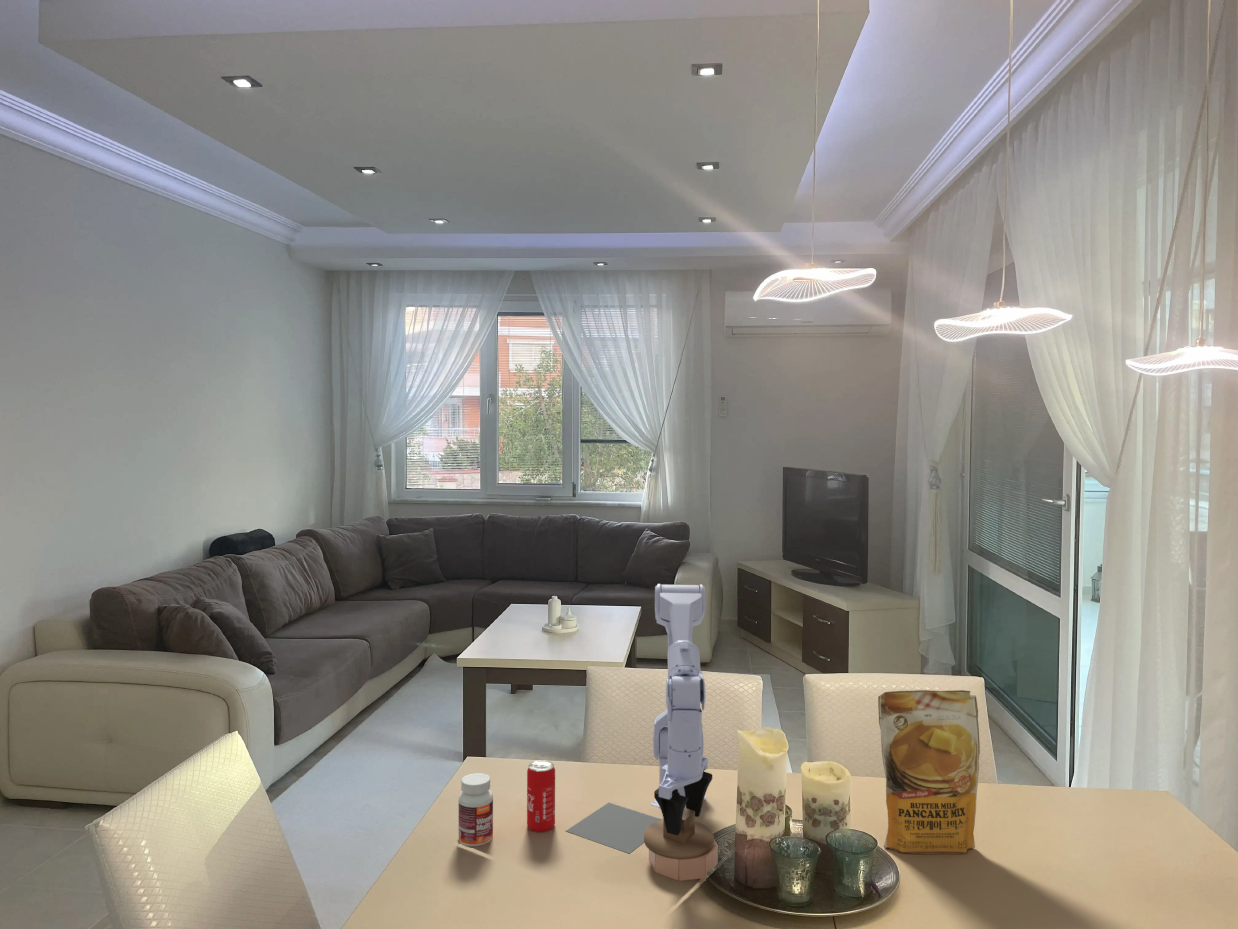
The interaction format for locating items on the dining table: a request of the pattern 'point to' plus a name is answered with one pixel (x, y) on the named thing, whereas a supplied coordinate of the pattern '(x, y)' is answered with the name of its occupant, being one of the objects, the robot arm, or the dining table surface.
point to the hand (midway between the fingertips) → (683, 824)
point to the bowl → (685, 865)
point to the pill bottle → (475, 810)
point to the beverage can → (541, 796)
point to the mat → (614, 827)
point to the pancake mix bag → (930, 769)
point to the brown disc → (680, 838)
